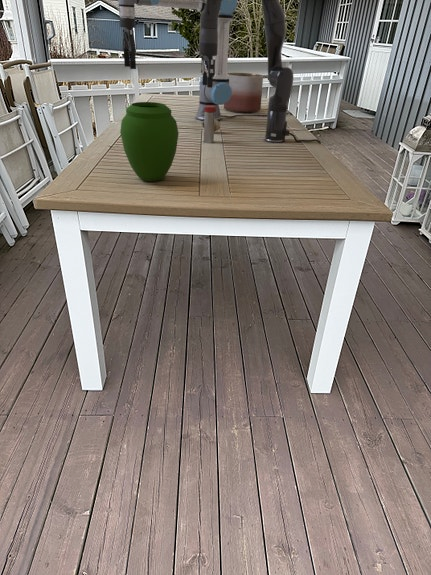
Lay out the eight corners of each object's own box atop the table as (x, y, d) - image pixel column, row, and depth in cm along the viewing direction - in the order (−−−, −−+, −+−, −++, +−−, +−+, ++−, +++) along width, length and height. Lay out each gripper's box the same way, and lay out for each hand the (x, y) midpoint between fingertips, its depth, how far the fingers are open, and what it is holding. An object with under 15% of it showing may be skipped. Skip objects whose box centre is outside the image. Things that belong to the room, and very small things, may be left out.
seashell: (219, 131, 220) (219, 115, 216) (220, 133, 215) (221, 117, 211) (201, 130, 219) (202, 114, 214) (202, 133, 214) (203, 116, 210)
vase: (131, 189, 135) (125, 110, 122) (118, 172, 150) (112, 100, 137) (186, 184, 142) (187, 109, 129) (169, 168, 157) (167, 99, 144)
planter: (264, 113, 274) (268, 77, 262) (227, 113, 270) (229, 75, 258) (255, 107, 295) (258, 73, 283) (220, 106, 291) (222, 72, 279)
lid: (211, 112, 188) (211, 107, 187) (201, 111, 191) (201, 106, 190) (217, 111, 192) (218, 106, 191) (208, 109, 195) (208, 105, 194)
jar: (210, 143, 196) (211, 108, 188) (201, 141, 198) (202, 107, 190) (215, 141, 200) (217, 107, 191) (207, 140, 202) (208, 106, 193)
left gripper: (114, 17, 205) (118, 65, 216) (124, 17, 186) (128, 69, 197) (129, 18, 208) (132, 65, 219) (141, 18, 188) (143, 70, 200)
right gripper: (222, 43, 161) (220, 88, 169) (213, 41, 172) (211, 84, 181) (203, 42, 159) (202, 88, 167) (195, 40, 170) (195, 84, 179)
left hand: (130, 67), depth 208 cm, fingers open, 13 cm apart
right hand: (207, 86), depth 174 cm, fingers open, 8 cm apart
